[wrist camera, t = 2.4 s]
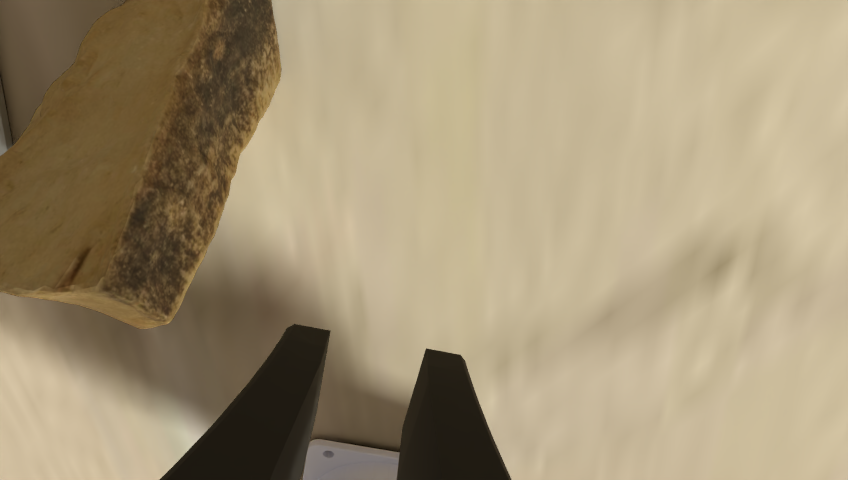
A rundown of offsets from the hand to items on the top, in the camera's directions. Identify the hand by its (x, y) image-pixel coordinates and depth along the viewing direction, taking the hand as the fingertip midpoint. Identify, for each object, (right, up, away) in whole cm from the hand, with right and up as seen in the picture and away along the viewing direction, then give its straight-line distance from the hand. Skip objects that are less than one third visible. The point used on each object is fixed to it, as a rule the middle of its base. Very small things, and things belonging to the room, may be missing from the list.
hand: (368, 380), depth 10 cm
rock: (-8, +7, +8) cm, 14 cm away
